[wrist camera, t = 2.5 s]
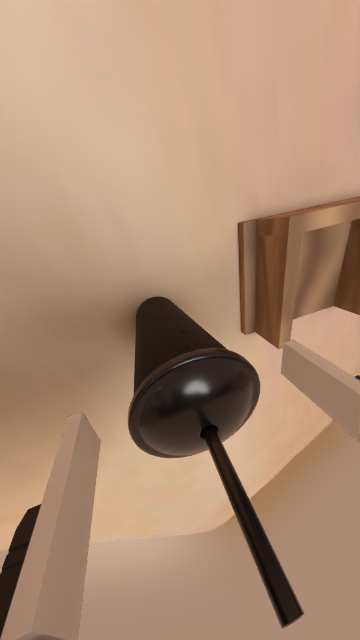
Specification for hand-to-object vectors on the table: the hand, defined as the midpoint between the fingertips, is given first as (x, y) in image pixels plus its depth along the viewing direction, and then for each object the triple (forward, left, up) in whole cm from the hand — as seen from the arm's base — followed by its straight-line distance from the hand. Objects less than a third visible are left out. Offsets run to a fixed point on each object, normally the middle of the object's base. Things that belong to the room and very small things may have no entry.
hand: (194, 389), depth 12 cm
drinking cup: (0, 0, -12) cm, 12 cm away
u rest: (+20, +1, -12) cm, 23 cm away
